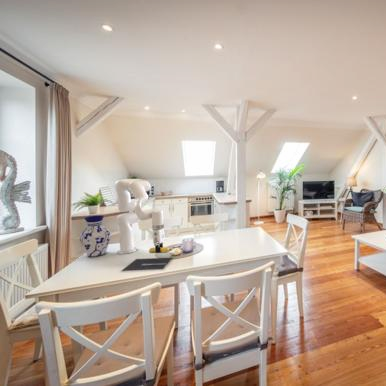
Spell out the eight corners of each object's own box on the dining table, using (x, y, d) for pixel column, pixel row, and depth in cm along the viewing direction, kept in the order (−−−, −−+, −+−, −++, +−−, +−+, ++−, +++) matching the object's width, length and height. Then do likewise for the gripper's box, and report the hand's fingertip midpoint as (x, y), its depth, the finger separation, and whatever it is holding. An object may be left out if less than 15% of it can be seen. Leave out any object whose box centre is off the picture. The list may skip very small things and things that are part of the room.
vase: (81, 261, 162) (78, 221, 159) (80, 254, 176) (77, 216, 173) (113, 254, 175) (110, 217, 172) (110, 248, 189) (107, 213, 186)
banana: (172, 251, 166) (172, 246, 166) (170, 253, 162) (170, 248, 162) (150, 252, 164) (150, 247, 164) (148, 254, 161) (147, 248, 160)
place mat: (136, 259, 166) (136, 259, 166) (172, 258, 169) (172, 257, 169) (121, 271, 146) (121, 270, 146) (162, 269, 149) (162, 269, 149)
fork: (141, 266, 154) (141, 265, 154) (142, 264, 156) (142, 263, 156) (164, 265, 156) (164, 264, 156) (166, 263, 158) (166, 263, 158)
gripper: (158, 229, 154) (160, 255, 155) (167, 224, 170) (168, 247, 172) (147, 230, 153) (148, 255, 154) (157, 224, 169) (158, 247, 171)
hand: (159, 251), depth 163 cm, fingers closed on banana, 4 cm apart
